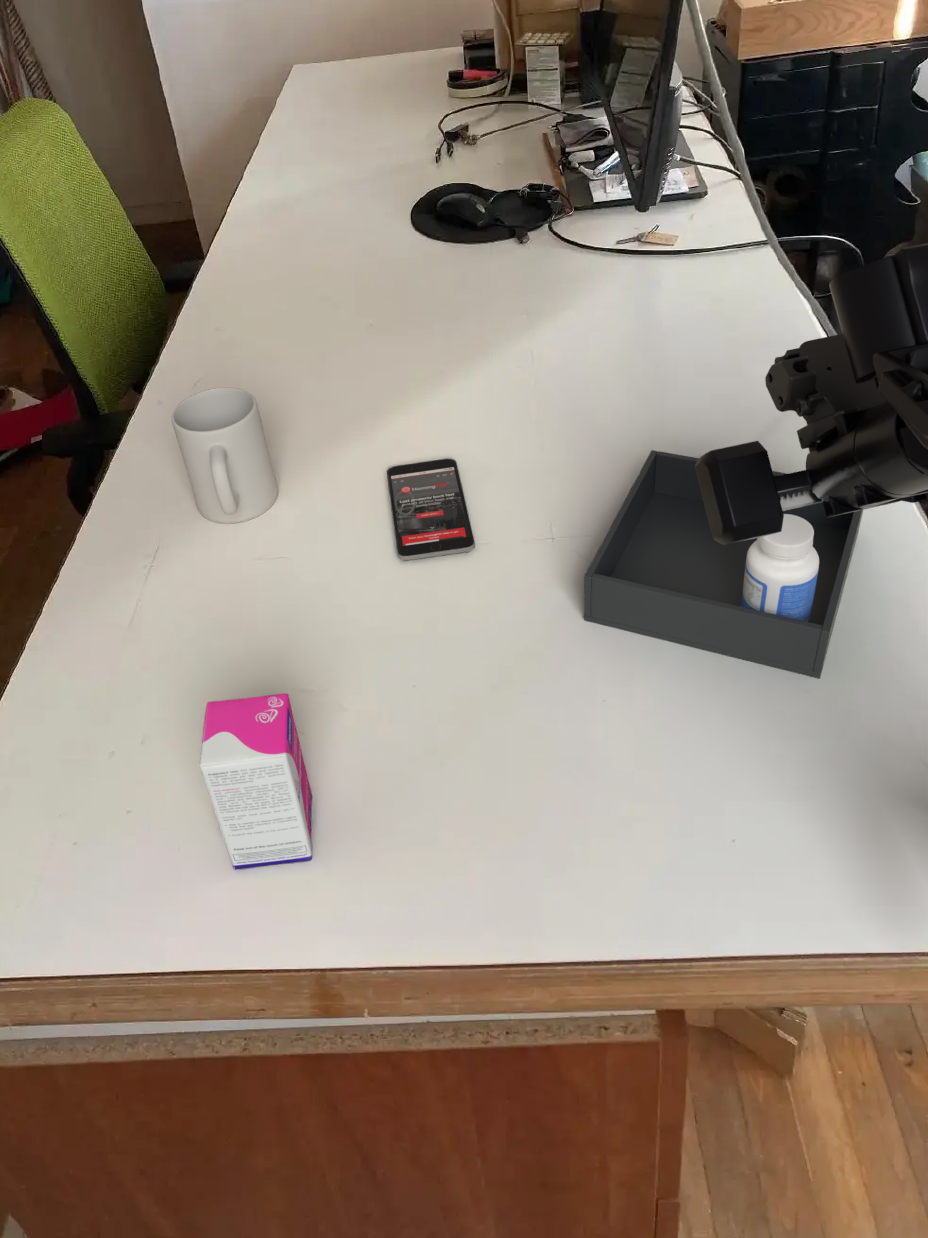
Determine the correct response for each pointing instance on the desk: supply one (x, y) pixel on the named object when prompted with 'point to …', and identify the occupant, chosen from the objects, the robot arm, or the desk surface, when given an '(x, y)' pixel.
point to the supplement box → (257, 780)
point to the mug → (225, 454)
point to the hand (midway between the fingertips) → (787, 493)
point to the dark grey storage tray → (708, 574)
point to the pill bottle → (782, 571)
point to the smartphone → (429, 510)
